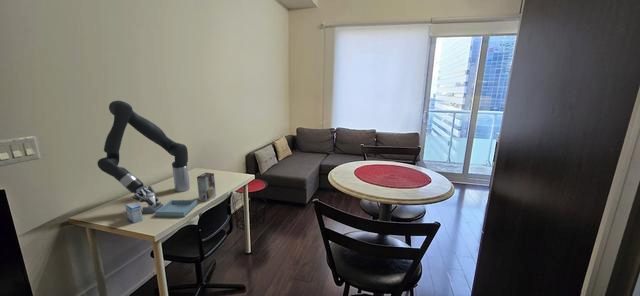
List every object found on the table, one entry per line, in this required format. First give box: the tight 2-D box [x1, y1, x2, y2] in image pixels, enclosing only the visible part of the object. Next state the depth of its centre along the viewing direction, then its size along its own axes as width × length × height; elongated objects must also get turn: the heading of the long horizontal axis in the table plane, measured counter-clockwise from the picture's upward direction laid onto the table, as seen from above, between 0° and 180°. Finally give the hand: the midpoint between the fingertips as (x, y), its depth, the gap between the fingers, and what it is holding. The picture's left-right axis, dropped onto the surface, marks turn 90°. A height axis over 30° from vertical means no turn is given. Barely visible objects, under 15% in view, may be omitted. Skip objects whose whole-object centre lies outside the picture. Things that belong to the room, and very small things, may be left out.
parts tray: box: [154, 199, 198, 218], centre depth 158 cm, size 16×16×3 cm
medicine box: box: [125, 202, 143, 224], centre depth 146 cm, size 8×4×9 cm, turn 56°
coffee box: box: [196, 172, 217, 202], centre depth 173 cm, size 9×6×16 cm
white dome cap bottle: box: [146, 192, 156, 209], centre depth 157 cm, size 4×4×10 cm
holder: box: [141, 201, 164, 214], centre depth 158 cm, size 8×7×3 cm
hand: (154, 202), depth 157 cm, fingers closed on white dome cap bottle, 4 cm apart
